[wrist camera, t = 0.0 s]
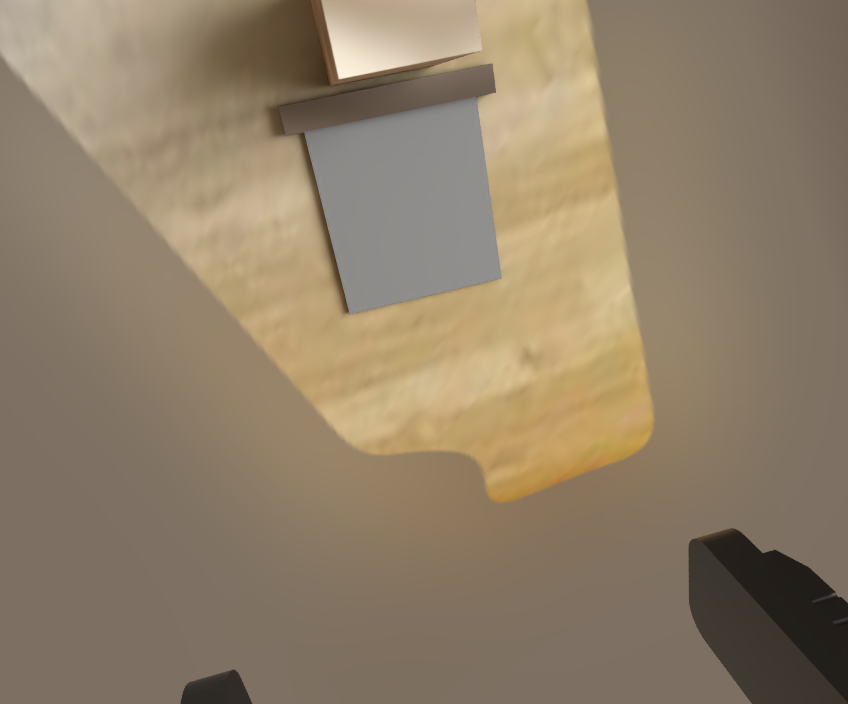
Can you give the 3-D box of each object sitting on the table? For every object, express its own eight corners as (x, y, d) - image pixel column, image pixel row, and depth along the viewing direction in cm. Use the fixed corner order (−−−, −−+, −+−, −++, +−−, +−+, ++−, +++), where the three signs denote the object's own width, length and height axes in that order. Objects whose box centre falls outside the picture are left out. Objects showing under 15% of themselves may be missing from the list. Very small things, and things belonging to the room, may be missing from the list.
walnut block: (306, -17, 31) (306, -68, 22) (418, -38, 32) (462, -95, 23) (329, 86, 33) (338, 79, 24) (434, 65, 34) (482, 50, 25)
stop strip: (278, 106, 33) (278, 106, 32) (487, 64, 34) (492, 63, 34) (286, 135, 34) (285, 135, 33) (491, 92, 35) (496, 92, 34)
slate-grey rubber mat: (303, 131, 34) (303, 131, 34) (474, 96, 35) (476, 96, 35) (349, 312, 38) (349, 314, 38) (499, 276, 39) (501, 278, 39)
